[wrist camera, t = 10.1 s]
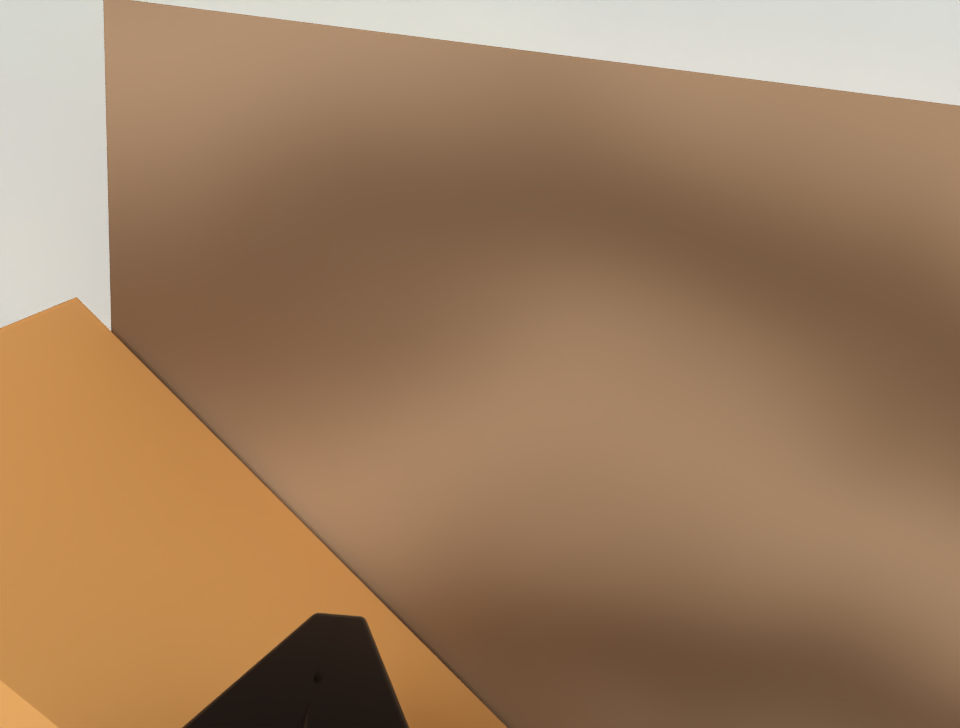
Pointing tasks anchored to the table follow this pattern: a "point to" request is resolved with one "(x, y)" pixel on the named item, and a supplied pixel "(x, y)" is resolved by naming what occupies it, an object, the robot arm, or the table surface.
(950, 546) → the board
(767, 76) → the table surface
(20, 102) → the table surface
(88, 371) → the orange and grey block
